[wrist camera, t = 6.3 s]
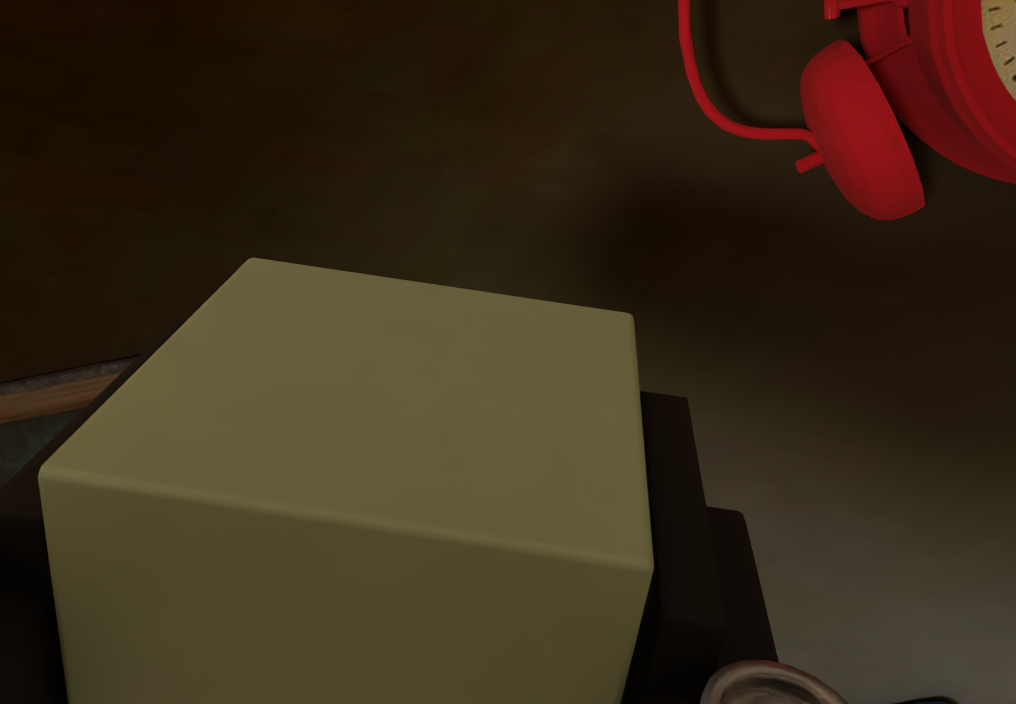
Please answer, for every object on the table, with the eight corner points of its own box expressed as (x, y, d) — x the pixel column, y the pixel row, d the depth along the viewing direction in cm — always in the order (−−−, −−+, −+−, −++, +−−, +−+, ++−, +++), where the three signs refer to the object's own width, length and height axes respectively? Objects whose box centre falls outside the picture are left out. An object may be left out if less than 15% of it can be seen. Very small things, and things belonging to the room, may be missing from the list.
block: (249, 253, 11) (32, 468, 7) (635, 311, 11) (657, 565, 7) (251, 559, 13) (86, 867, 9) (574, 610, 13) (562, 949, 9)
